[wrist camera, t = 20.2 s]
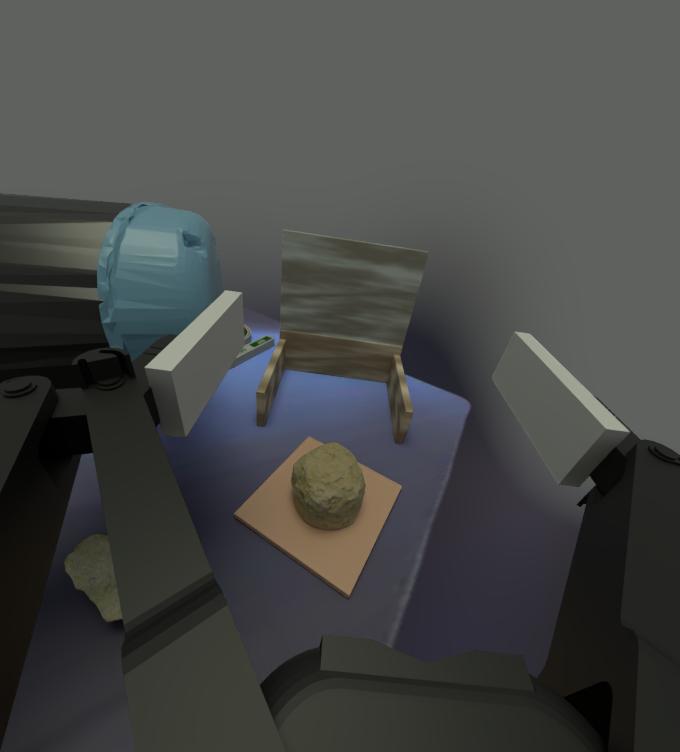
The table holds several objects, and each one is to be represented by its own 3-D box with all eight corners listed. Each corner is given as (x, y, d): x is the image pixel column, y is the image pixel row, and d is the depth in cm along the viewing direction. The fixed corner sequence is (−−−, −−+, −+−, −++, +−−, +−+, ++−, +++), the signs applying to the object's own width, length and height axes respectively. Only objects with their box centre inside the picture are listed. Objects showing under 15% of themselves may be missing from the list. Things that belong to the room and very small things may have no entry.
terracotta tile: (234, 517, 38) (234, 513, 37) (308, 439, 50) (309, 436, 49) (348, 599, 32) (349, 595, 32) (400, 489, 44) (402, 486, 44)
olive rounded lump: (334, 482, 47) (305, 429, 44) (390, 491, 40) (362, 430, 37) (296, 534, 41) (259, 477, 37) (355, 554, 34) (317, 487, 31)
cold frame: (402, 443, 52) (458, 286, 37) (257, 425, 51) (253, 255, 36) (391, 380, 67) (427, 251, 52) (280, 365, 66) (284, 229, 51)
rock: (200, 629, 30) (197, 525, 36) (189, 617, 25) (188, 501, 32) (60, 680, 26) (86, 553, 32) (20, 676, 22) (58, 530, 28)
